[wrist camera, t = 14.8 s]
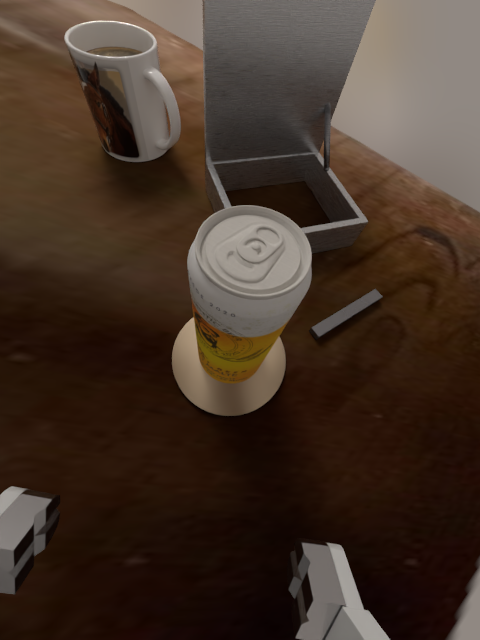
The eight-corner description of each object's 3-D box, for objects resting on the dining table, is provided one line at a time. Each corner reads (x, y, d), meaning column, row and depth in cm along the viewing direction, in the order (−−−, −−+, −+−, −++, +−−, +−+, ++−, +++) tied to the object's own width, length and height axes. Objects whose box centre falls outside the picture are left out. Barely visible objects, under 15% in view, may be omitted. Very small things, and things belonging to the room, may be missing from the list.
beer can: (185, 356, 24) (154, 246, 11) (226, 314, 27) (244, 182, 13) (234, 399, 23) (268, 334, 10) (273, 351, 25) (344, 246, 12)
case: (236, 268, 30) (268, 63, 14) (205, 189, 35) (202, -24, 19) (351, 245, 34) (481, 62, 18) (307, 177, 39) (375, -11, 23)
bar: (314, 341, 27) (318, 336, 26) (307, 332, 28) (311, 327, 27) (376, 301, 30) (382, 296, 29) (369, 294, 31) (375, 288, 30)
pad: (187, 433, 22) (187, 433, 21) (162, 321, 26) (161, 319, 26) (302, 394, 24) (303, 393, 24) (261, 298, 28) (262, 296, 28)
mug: (166, 121, 42) (153, 20, 32) (185, 167, 37) (177, 66, 27) (97, 126, 39) (60, 19, 29) (109, 176, 34) (69, 69, 25)
